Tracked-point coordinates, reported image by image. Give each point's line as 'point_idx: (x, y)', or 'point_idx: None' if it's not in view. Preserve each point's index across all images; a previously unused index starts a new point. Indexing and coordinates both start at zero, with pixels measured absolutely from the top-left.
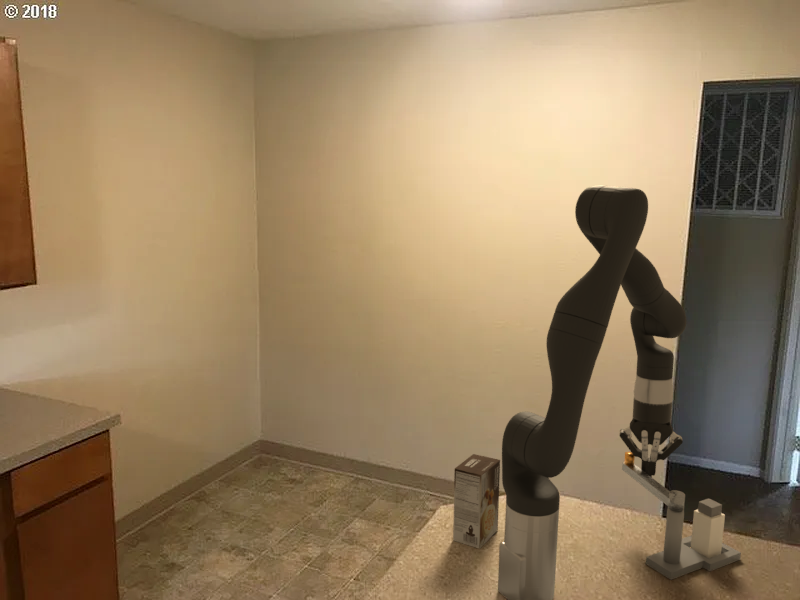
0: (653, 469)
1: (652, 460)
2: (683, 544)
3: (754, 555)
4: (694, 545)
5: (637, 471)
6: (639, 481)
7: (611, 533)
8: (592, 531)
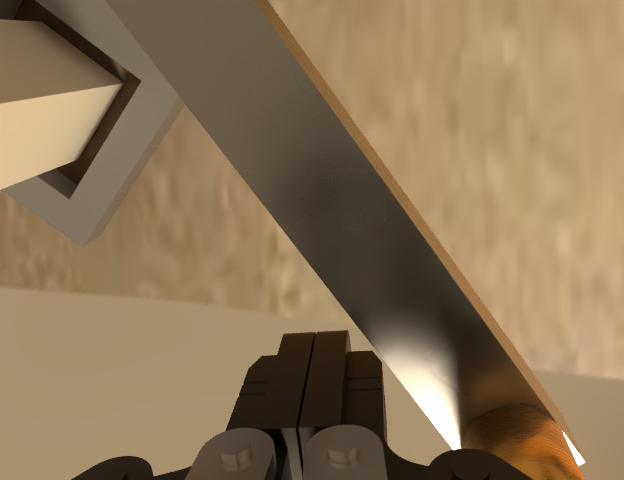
0: (261, 389)
1: (253, 438)
2: (139, 73)
3: None
4: (85, 73)
5: (418, 296)
6: (384, 167)
7: (507, 99)
8: (613, 75)
